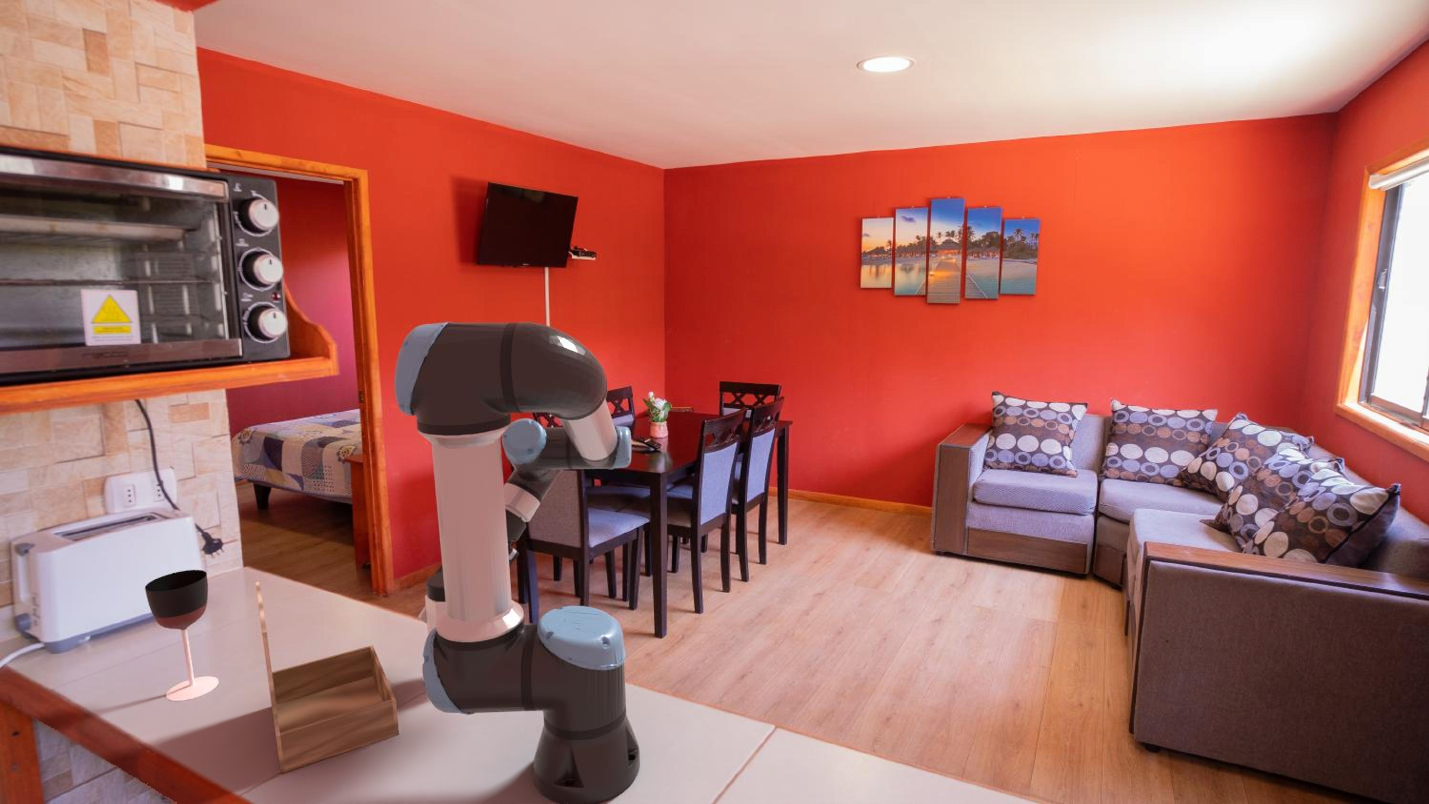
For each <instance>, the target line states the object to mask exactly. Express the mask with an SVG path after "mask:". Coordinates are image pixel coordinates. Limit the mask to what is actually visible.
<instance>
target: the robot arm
mask: <svg viewBox="0 0 1429 804" xmlns="http://www.w3.org/2000/svg"><path fill="white" fill-rule="evenodd" d="M606 375H607V374H606V373H605V370H604V367H603V365H602V363H601V362H600V360H599V359H598V358H597V356H596V355H595V354H593V352H592V351H591V349H588V347H586V346H585V345H584V344H582V343H581V341H579V340H577V339H576V338H574V337H572V336H571V335H569V334H568V333H565V332H564V331H561V330H559V329H557V328H555V327H552V326H549V325H546V324H543V323H538V322H537V323H536V322H532V321H519V322H454V321H446V322H438V323H425V324H421V325H418V326H416V327H414V328H413V329H411V331H409V333H408V334H407V336H405V338H404V340H403V342H402V344H401V347H400V349H399V352H398V355H397V360H396V365H395V372H394V394H395V395H394V396H395V400H396V403H397V404H398V409H399V411H400V412H402V413H403V414H405V415H408V416H409V417H414V416H415V419H416V428H417V429H416V430H417V433H418V435H419V434H420V435H421V436H422V437H424V438H425V439H426V440H427V441H429V442H430V444H431V454H432V463H433V476H434V485H435V486H434V488H435V496H436V497H435V498H436V499H435V500H436V510H437V519H438V520H437V522H438V531H439V542H440V553H441V555H440V556H441V566H440V567H439V568H438V570H437V571H435V573H434V574H437V573H439V572H443V578H444V589H445V600H446V611H445V612H444V613H443V614H442V615H441V616H440V617H439V618H438V620H437V622H436V627H435V628H434V629H432V631H431V632H430V633H429V635H428V634H427V637H426V640H425V641H424V647H423V653H422V656H423V657H422V658H423V663H422V666H421V667H422V678H423V683H424V688H425V692H426V695H427V698H428V699H429V701H430V703H431V705H433V707H434V708H436V710H439V711H441V712H443V713H447V714H448V713H449V714H464V715H467V716H469V715H474V714H479V713H480V714H482V713H483V714H484V713H485V714H486V713H508V712H509V713H510V712H511V713H512V712H515V713H516V712H541V711H542V713H543V726H542V729H541V734H540V736H539V741H538V744H537V747H536V751H535V754H534V758H533V781H534V783H535V786H536V789H537V790H538V791H539V792H540V793H541V794H542V795H543V796H545V797H546V798H548V799H549V800H551V801H554V802H556V803H559V804H598V803H601V802H604V801H607V800H609V799H612V798H613V797H616V796H617V795H619V794H621V793H623V792H624V791H625V790H626V789H628V788H629V787H630V786H631V785H632V783H633V782H634V781H635V780H636V778H637V776H638V774H639V772H640V767H641V756H640V755H641V754H640V751H641V750H640V746H639V742H638V740H637V738H636V736H635V732H634V731H633V728H632V725H631V723H630V720H629V718H628V715H627V697H626V696H627V695H626V676H625V674H626V673H625V671H626V670H625V669H626V667H625V661H626V657H627V655H626V654H627V651H626V648H625V643H624V642H625V641H624V632H623V629H622V627H621V624H620V623H619V621H618V620H617V619H616V618H615V617H614V616H612V615H610V614H609V613H607V612H606V611H603V610H601V609H599V608H595V607H591V606H585V605H567V606H561V608H560V609H557V608H554V609H552V610H548V612H545V613H544V614H543V615H542V616H541V618H540V620H539V622H538V623H535V622H534V623H533V622H532V623H531V622H530V623H525V613H524V609H523V607H522V606H521V605H520V604H519V603H518V602H516V601H514V600H513V599H512V589H511V571H510V568H511V566H512V564H513V563H514V562H515V561H516V559H517V558H518V557H519V555H520V553H519V552H518V550H516V549H515V548H513V546H511V545H512V542H514V543H515V542H517V541H519V539H520V537H521V536H522V534H523V532H525V529H526V528H527V523H528V522H530V521H531V520H532V518H533V516H534V515H535V512H536V511H537V510H538V509H539V507H540V505H541V504H542V502H543V500H544V499H545V497H546V496H547V494H548V492H549V490H550V489H551V488H552V486H553V485H554V482H555V481H556V479H558V478H559V477H558V476H559V475H560V474H561V473H562V472H563V470H585V469H586V470H591V469H592V470H595V469H596V470H597V469H600V470H601V469H602V470H603V469H605V470H607V469H608V470H614V469H621V468H622V469H623V468H627V467H629V466H630V465H631V462H632V435H631V434H632V432H631V430H630V428H629V427H628V426H619V425H615V424H614V420H613V417H612V416H611V415H612V414H611V412H610V410H609V408H610V407H609V406H608V402H607V400H606V399H607V398H606V397H607V396H608V395H607V394H608V388H609V387H608V386H609V385H608V380H607V376H606ZM523 413H527V414H528V413H548V414H550V415H551V416H553V417H555V418H557V419H558V421H559V422H560V423H561V425H562V427H559V426H557V427H543V426H542V425H541V423H539V422H538V421H536V420H533V419H531V418H520V419H517V420H514V421H513V422H512V414H523ZM501 442H502V443H501ZM501 444H502V445H501ZM502 447H503V449H504V453H505V457H506V459H508V461H509V462H510V464H511V465H512V467H513V472H512V473H511V475H509V477H508V479H507V480H506V482H505V483H504V471H503V458H502ZM416 618H417V619H419V620H420V621H422V622H424V623H425V624H427V615H426V604H424V606H423V608H422V610H421V611H420V613H419V614H418V616H417V617H416Z"/></svg>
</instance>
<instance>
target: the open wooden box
mask: <svg viewBox="0 0 1429 804" xmlns="http://www.w3.org/2000/svg"><path fill="white" fill-rule="evenodd" d="M255 589H256V596H257V602H258V612H259V619H260V621H259V622H260V627H261V636H262V642H263V650H264V658H265V665H266V673H267V680H268V687H269V688H268V689H269V696H270V702H271V703H270V704H271V705H270V706H271V713H272V718H273V719H272V720H273V724H274V725H273V727H274V732H275V740H276V742H275V743H276V747H277V754H278V755H277V756H278V762H279V770H280V775H282V774H284V773H288V772H291V771H294V770H297V769H299V768H304V767H305V766H306V767H307V766H309V765H312V764H315V763H319V762H320V761H324V760H327V759H330V758H333V757H336V756H339V755H342V754H345V753H348V752H351V751H354V750H357V749H360V748H363V747H366V746H368V745H372V744H375V743H378V742H381V741H383V740H386V739H391V738H392V737H396V736H399V735H400V730H399V729H400V728H399V720H398V717H399V716H398V708H397V699H396V696H395V694H394V691H393V690H392V687H391V685H390V683H389V682H390V681H389V680H388V678H387V676H386V673H385V671H384V668H383V666H382V664H381V662H380V659H379V656H378V655H377V652H376V649H375V647H374V645H372V644H371V645H368V646H364V647H361V648H357V649H354V650H353V649H352V650H350V651H345V652H342V653H339V654H334V655H331V656H327V657H324V658H320V659H316V660H312V661H309V662H305V663H301V664H297V665H294V666H293V665H292V666H290V667H286V668H282V669H279V670H275V671H273V670H272V663H271V654H270V647H269V645H270V644H269V639H268V631H267V625H266V619H265V609H264V603H263V598H262V591H261V585H260V581H256V582H255Z"/></svg>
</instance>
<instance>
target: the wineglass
mask: <svg viewBox="0 0 1429 804" xmlns="http://www.w3.org/2000/svg"><path fill="white" fill-rule="evenodd" d="M144 590H145V594H146V598H147V603H148V606H149V609H150V611H151V614H152V616H153V618H154V620H155V621H156V623H157V624H158V625H159V626H160V627H162V628H166V629H169V630H170V629H171V630H181V638H182V644H183V649H184V650H183V651H184V658H185V664H186V670H187V676H188V677H187V678H188V679H187V680H184V681H182V682H180V683H178V684H175V685H174V686H173V687H171V688H170V689H169V690H168V691H167V692H166V695H165V697H166V699H167V700H170V701H172V702H173V701H174V702H175V701H176V702H182V701H183V702H184V701H188V700H192V699H197V698H199V697H202V696H204V695H206V694H208V693H210V692H211V691H212V690H214V689H215V688H217V686H218V685H219V682H220V680H219V679H218V678H217V677H214V676H209V675H208V676H199V677H194V676H195V675H194V669H193V662H192V655H191V650H190V642H189V634H188V630H187V629H188V628H189V627H190V626H191V625H193V624H194V623H195V622H197V621H198V620H200V618H201V617H202V616H203V615H204V614H205V613H206V609H207V605H208V598H209V597H208V596H209V582H208V574H207V571H206V570H202V569H187V570H182V571H181V570H180V571H176V572H172V573H167V574H166V575H162V576H160V577H157V578H155V579H153V580H151V581H149V582H148V583H147V584H146V585H145V587H144Z"/></svg>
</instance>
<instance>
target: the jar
mask: <svg viewBox="0 0 1429 804" xmlns="http://www.w3.org/2000/svg"><path fill="white" fill-rule="evenodd" d="M425 586H426V594H425V595H424V601H425V604H424V605H426V615H427V623H426V624H427V636H428V635H429V633H430V632H431V631H432V629H434V628H435V627H436V622H437V620H438V618H439V617H440V616H441V615H442V614H443V613H444V612H445V611H446V600H445V589H444V578H443V572H439V573H437V574H435V573H434V574H433V575H431V576H430V577H428V578H427V579H426V582H425Z"/></svg>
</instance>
